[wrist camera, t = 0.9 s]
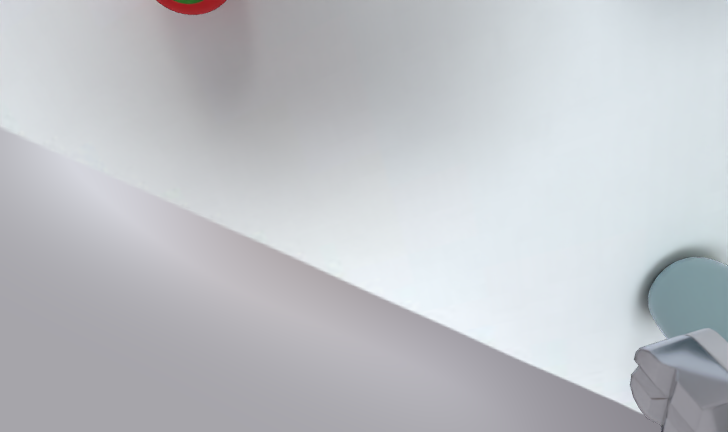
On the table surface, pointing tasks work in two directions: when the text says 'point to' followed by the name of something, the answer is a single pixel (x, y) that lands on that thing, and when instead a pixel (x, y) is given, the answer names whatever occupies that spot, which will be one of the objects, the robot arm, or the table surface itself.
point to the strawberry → (192, 6)
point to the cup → (691, 297)
